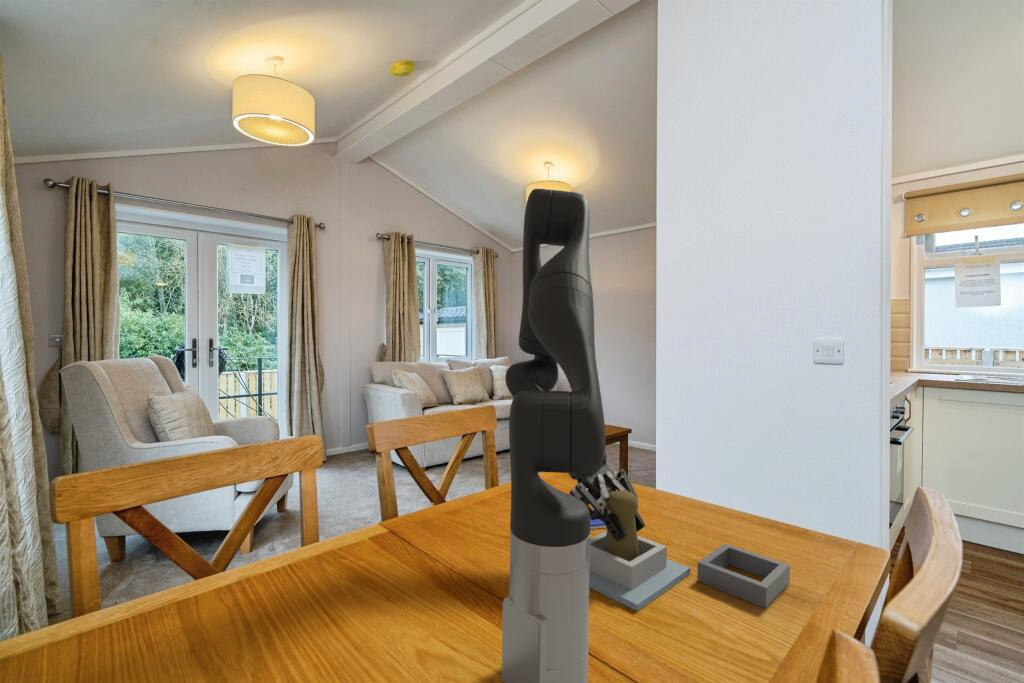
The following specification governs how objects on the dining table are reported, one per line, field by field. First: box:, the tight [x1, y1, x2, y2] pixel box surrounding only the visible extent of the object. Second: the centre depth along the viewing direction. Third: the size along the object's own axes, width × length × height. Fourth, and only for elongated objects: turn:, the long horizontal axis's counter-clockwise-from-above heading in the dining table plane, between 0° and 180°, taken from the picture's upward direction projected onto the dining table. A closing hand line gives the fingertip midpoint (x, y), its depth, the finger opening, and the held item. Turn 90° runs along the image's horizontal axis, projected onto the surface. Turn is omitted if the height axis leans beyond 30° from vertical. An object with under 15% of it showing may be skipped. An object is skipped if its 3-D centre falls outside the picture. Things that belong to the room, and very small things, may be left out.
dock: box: [589, 530, 691, 612], centre depth 80 cm, size 16×16×4 cm
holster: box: [696, 543, 791, 609], centre depth 77 cm, size 10×10×3 cm
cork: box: [604, 490, 639, 562], centre depth 80 cm, size 6×6×11 cm
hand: (631, 533), depth 78 cm, fingers closed on cork, 4 cm apart
